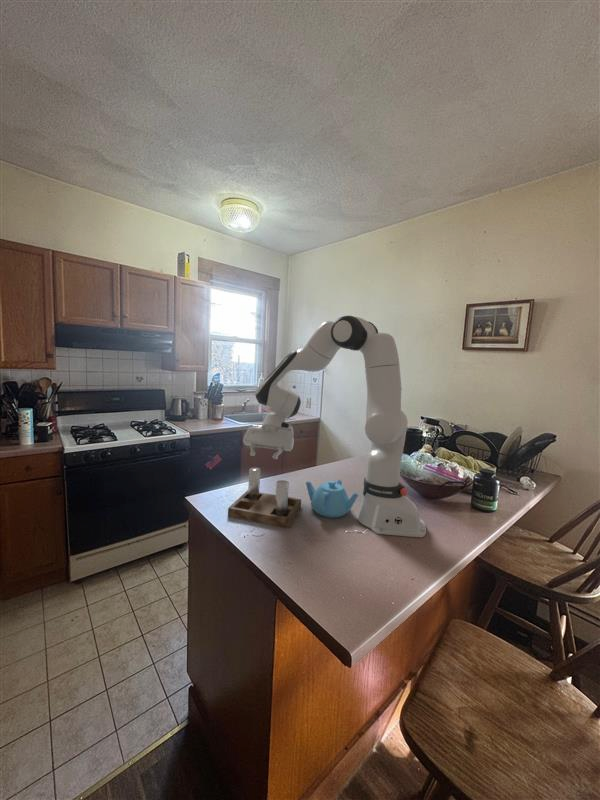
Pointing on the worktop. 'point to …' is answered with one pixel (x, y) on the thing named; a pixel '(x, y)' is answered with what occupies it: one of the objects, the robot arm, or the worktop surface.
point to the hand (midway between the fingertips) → (263, 456)
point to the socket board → (263, 510)
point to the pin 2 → (281, 498)
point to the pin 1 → (254, 483)
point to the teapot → (330, 499)
